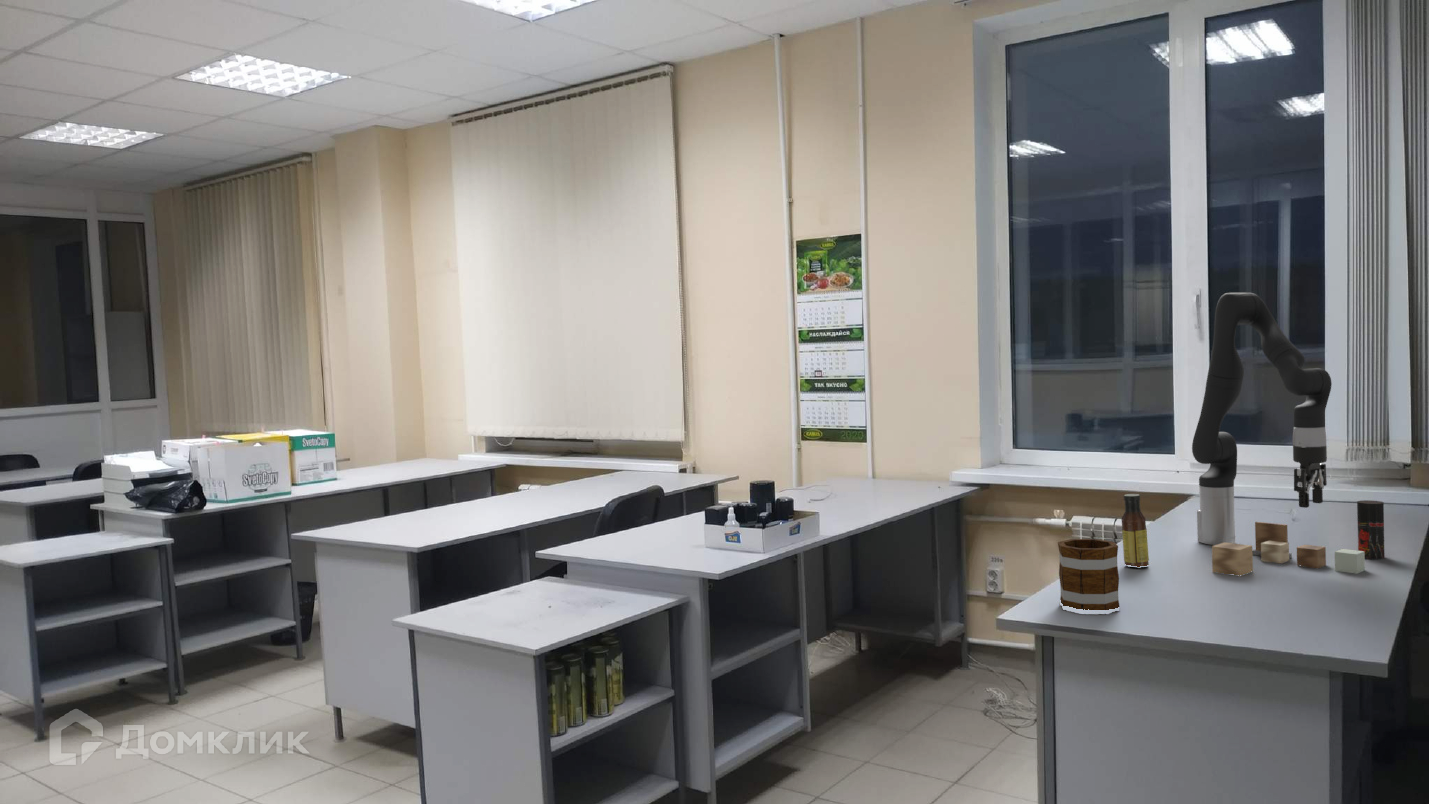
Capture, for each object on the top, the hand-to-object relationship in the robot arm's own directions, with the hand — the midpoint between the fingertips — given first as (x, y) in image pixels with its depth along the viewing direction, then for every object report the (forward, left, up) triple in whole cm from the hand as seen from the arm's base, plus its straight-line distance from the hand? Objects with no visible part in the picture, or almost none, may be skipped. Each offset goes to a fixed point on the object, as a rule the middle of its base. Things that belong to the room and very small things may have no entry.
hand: (1310, 505), depth 252 cm
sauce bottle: (-32, -30, -16) cm, 47 cm away
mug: (-19, -72, -16) cm, 76 cm away
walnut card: (-12, +5, -16) cm, 21 cm away
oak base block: (-11, -20, -16) cm, 28 cm away
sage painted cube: (+9, 0, -16) cm, 18 cm away
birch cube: (-9, 0, -16) cm, 19 cm away
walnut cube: (0, 0, -16) cm, 16 cm away
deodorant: (+7, +20, -16) cm, 27 cm away
